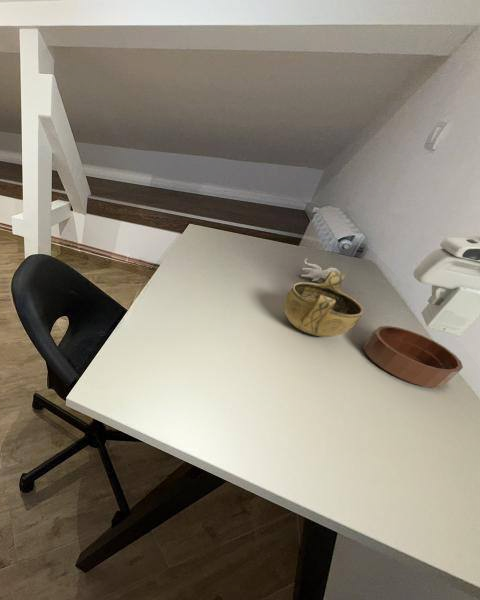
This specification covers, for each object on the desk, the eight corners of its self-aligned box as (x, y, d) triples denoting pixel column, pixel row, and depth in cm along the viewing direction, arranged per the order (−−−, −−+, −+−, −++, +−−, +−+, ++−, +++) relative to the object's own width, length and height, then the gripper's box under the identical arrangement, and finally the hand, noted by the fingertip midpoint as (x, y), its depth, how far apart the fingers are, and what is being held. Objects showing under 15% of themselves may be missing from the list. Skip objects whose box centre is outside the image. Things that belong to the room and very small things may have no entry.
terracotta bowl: (424, 355, 85) (440, 338, 82) (458, 399, 72) (479, 381, 69) (354, 335, 90) (366, 319, 86) (374, 373, 77) (389, 356, 73)
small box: (458, 337, 70) (497, 298, 64) (425, 326, 72) (460, 288, 66) (450, 321, 75) (485, 284, 69) (420, 312, 78) (452, 275, 72)
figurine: (305, 256, 116) (346, 260, 110) (302, 261, 124) (340, 264, 118) (301, 278, 116) (341, 283, 110) (298, 281, 124) (336, 285, 118)
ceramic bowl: (284, 301, 102) (307, 260, 94) (345, 325, 94) (376, 283, 85) (266, 330, 88) (291, 285, 80) (336, 362, 79) (372, 315, 71)
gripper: (560, 260, 63) (502, 314, 71) (435, 236, 69) (394, 289, 76) (587, 273, 58) (522, 330, 66) (450, 246, 64) (405, 302, 71)
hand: (452, 308), depth 71 cm, fingers closed on small box, 6 cm apart
